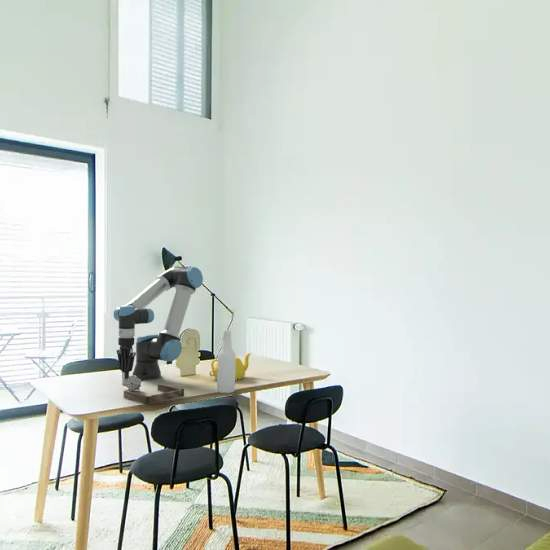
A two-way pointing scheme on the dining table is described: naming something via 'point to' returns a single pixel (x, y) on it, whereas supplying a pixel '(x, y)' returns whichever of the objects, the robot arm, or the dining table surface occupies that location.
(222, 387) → the alcohol
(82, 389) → the dining table surface
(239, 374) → the teapot
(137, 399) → the brown wooden bar
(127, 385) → the game die
